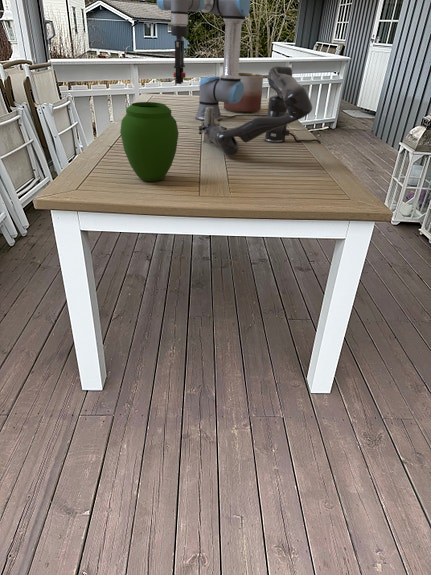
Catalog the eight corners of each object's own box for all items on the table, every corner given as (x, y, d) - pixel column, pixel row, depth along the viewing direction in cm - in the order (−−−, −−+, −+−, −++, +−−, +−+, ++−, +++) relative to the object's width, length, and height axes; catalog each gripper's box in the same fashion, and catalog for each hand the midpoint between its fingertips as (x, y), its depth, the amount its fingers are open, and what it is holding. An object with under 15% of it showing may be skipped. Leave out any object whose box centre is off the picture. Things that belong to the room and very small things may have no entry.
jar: (210, 143, 196) (211, 108, 188) (201, 141, 198) (202, 107, 190) (215, 141, 200) (217, 107, 191) (207, 140, 202) (208, 106, 193)
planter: (264, 113, 274) (268, 77, 262) (227, 113, 270) (229, 75, 258) (255, 107, 295) (258, 73, 283) (220, 106, 291) (222, 72, 279)
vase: (131, 189, 135) (125, 110, 122) (118, 172, 150) (112, 100, 137) (186, 184, 142) (187, 109, 129) (169, 168, 157) (167, 99, 144)
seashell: (219, 131, 220) (219, 115, 216) (220, 133, 215) (221, 117, 211) (201, 130, 219) (202, 114, 214) (202, 133, 214) (203, 116, 210)
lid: (173, 76, 197) (173, 71, 195) (185, 77, 197) (185, 72, 196) (173, 77, 192) (173, 72, 191) (185, 78, 192) (185, 73, 191)
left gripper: (174, 25, 191) (174, 80, 204) (167, 24, 176) (168, 84, 188) (190, 26, 191) (189, 81, 203) (185, 25, 175) (184, 85, 188)
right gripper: (201, 143, 184) (193, 135, 198) (231, 142, 188) (221, 134, 201) (202, 125, 180) (193, 118, 194) (233, 125, 184) (222, 118, 197)
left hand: (179, 83), depth 196 cm, fingers closed on lid, 5 cm apart
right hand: (207, 126), depth 198 cm, fingers closed on jar, 5 cm apart
